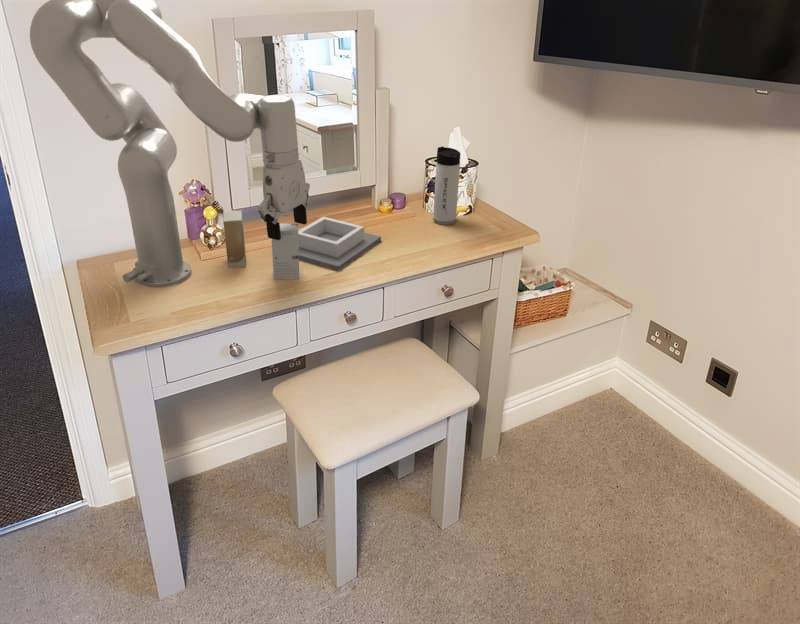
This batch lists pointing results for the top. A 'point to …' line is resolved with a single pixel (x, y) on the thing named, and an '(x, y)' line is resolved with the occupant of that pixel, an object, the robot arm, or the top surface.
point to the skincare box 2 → (286, 253)
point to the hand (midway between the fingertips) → (287, 230)
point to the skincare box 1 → (234, 239)
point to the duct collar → (333, 243)
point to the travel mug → (446, 185)
